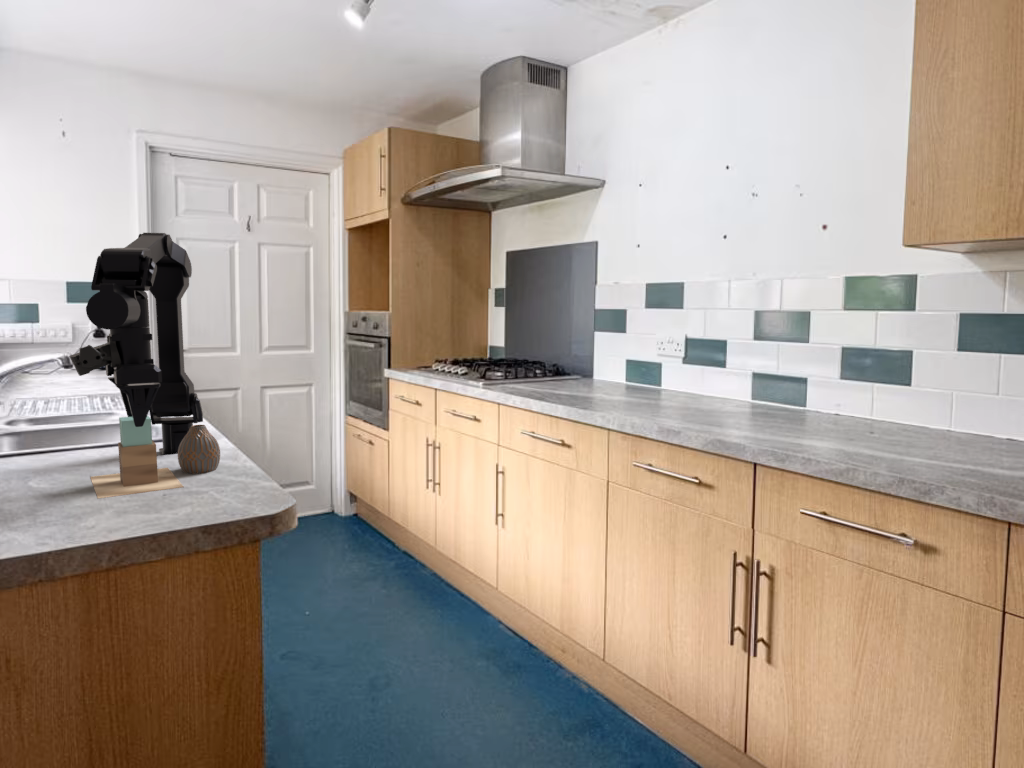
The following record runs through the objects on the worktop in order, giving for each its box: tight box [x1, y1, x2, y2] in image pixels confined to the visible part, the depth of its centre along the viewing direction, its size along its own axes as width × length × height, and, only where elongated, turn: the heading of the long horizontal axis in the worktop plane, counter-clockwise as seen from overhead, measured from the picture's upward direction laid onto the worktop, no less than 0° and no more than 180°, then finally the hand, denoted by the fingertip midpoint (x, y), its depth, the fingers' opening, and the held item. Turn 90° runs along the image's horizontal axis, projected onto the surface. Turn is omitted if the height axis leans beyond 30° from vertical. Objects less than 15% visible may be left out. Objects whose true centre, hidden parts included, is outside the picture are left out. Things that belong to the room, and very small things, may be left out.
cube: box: [118, 415, 153, 447], centre depth 116 cm, size 4×4×4 cm
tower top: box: [117, 439, 158, 467], centre depth 116 cm, size 5×5×3 cm
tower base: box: [118, 461, 158, 487], centre depth 117 cm, size 5×5×3 cm
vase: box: [177, 424, 221, 475], centre depth 125 cm, size 7×7×9 cm
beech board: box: [90, 467, 185, 500], centre depth 117 cm, size 16×12×1 cm
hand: (135, 422), depth 116 cm, fingers open, 9 cm apart
